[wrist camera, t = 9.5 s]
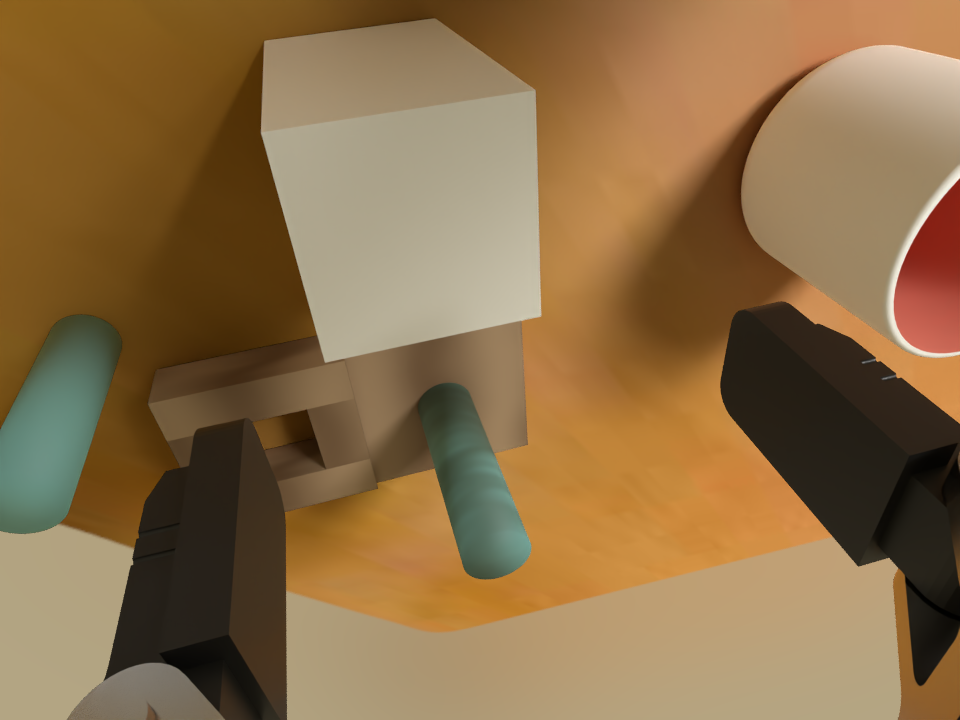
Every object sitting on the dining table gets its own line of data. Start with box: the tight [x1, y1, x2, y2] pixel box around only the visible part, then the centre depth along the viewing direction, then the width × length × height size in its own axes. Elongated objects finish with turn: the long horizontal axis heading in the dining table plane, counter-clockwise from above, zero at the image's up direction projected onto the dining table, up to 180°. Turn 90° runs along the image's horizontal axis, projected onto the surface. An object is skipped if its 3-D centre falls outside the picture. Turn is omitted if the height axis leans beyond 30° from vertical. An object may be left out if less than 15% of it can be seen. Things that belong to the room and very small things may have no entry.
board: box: [345, 321, 531, 579], centre depth 28 cm, size 8×8×11 cm
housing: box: [261, 18, 541, 363], centre depth 20 cm, size 6×6×11 cm
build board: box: [148, 336, 378, 512], centre depth 30 cm, size 8×8×2 cm
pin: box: [0, 315, 122, 534], centre depth 23 cm, size 3×3×9 cm
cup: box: [741, 45, 960, 358], centre depth 27 cm, size 10×10×10 cm
